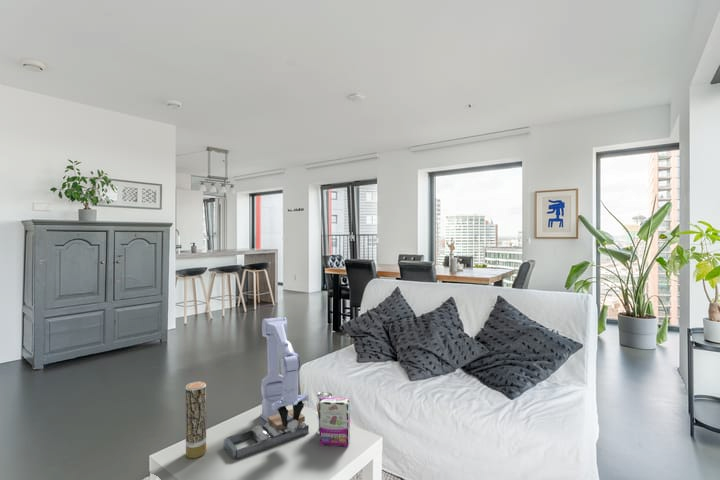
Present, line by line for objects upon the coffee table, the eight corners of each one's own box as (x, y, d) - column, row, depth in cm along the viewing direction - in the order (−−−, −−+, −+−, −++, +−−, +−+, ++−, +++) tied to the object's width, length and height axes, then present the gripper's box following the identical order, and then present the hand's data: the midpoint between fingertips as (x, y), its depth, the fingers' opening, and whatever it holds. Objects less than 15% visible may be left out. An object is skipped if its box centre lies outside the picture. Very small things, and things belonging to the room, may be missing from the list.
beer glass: (334, 428, 153) (334, 391, 153) (331, 437, 147) (331, 399, 146) (317, 427, 154) (317, 391, 154) (314, 436, 147) (314, 398, 147)
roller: (280, 425, 142) (280, 415, 142) (290, 422, 144) (290, 412, 144) (290, 434, 136) (290, 423, 136) (300, 430, 138) (300, 420, 138)
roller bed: (223, 446, 140) (223, 434, 140) (294, 422, 158) (294, 411, 158) (234, 460, 131) (234, 448, 131) (308, 433, 150) (308, 422, 150)
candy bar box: (350, 440, 144) (350, 398, 144) (348, 447, 139) (348, 403, 139) (322, 438, 146) (322, 396, 146) (319, 445, 141) (319, 402, 141)
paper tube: (198, 460, 131) (198, 389, 131) (181, 458, 132) (181, 388, 132) (210, 449, 138) (210, 382, 138) (193, 447, 139) (193, 380, 139)
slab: (267, 422, 149) (267, 417, 149) (294, 413, 157) (294, 408, 157) (277, 430, 143) (277, 425, 143) (304, 421, 150) (304, 416, 150)
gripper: (277, 396, 132) (277, 434, 132) (312, 386, 141) (312, 422, 141) (268, 390, 138) (268, 426, 138) (303, 380, 147) (303, 415, 147)
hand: (290, 423), depth 140 cm, fingers closed on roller, 4 cm apart
